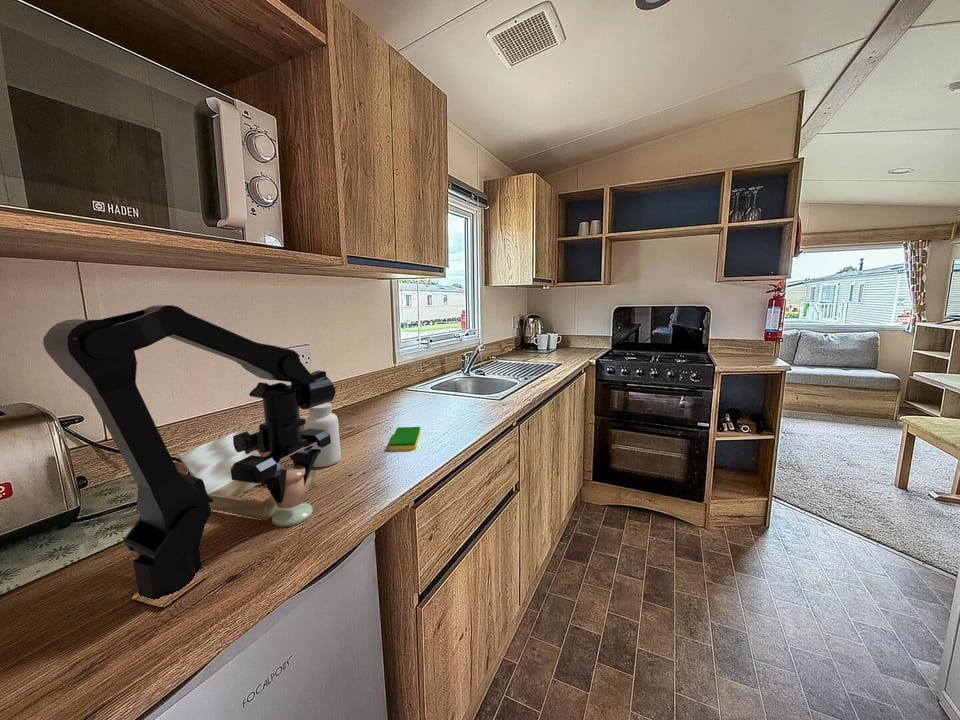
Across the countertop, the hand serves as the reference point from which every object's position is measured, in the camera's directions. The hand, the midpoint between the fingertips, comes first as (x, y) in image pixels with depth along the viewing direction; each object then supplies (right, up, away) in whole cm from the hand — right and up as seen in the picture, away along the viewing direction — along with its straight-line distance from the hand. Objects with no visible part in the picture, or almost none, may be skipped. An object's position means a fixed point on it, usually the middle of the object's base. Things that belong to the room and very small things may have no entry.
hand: (290, 495), depth 73 cm
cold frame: (-12, -3, +9) cm, 15 cm away
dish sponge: (+15, +1, +39) cm, 42 cm away
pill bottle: (-4, -1, +25) cm, 26 cm away
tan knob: (0, -1, 0) cm, 1 cm away
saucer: (0, -4, +1) cm, 4 cm away
